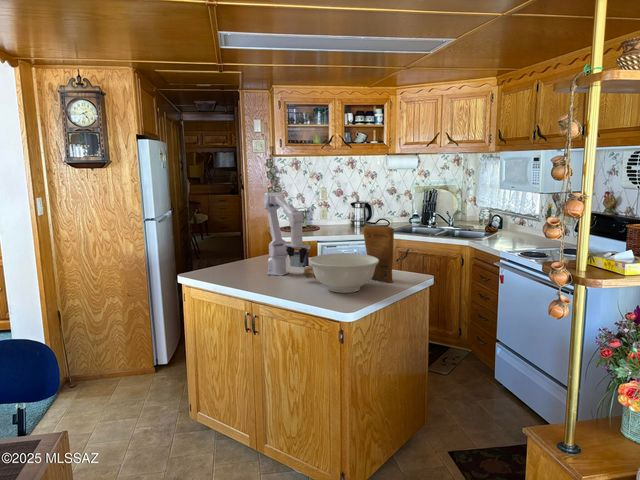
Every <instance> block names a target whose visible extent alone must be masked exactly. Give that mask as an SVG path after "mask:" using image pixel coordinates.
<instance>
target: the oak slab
mask: <svg viewBox="0 0 640 480" xmlns="http://www.w3.org/2000/svg"><path fill="white" fill-rule="evenodd" d="M303 273H311V274H314V271H313V266H312V265H309V266H308V267H304V268H303Z"/></svg>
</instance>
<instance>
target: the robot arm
mask: <svg viewBox="0 0 640 480" xmlns="http://www.w3.org/2000/svg"><path fill="white" fill-rule="evenodd" d="M262 201H263V205H264V209H265V210H266V213H267V219H268V223H269V228H270V229H269V230H270V233H271V234H270V235H271V240H272V241H270V243H268V255H269V256H270V257H269V258H268V260H267V273H266V274H267V275H273V276H274V275H275V276H284V275H287V274H289V273H290V271H287V258H288V257H289V258H290V256H293V255H294V251H296V250H295V249H299V250H298V251H299V252H300V263H303V262H304V258H305V255H306V253H307V251H308V252H309V250H311V248H312V247H311V244H303V223H305V220H306V219H305V214H304V212H303V211H301V210H300V211H298V209H296V207H295V206H293V204H291V203H288V202H287V201H286V199H285V195H284V193H283V192H281V191H279V192H265V193H264V194H263V197H262ZM278 209H282V212H283V213H284V215H285V216H286V217H287V218H288V221H289V227H290V243H288V242H287V241H286V240H285V239H284V238H283V237H282V232H281V227H280V223H279V218H278V217H279V216H278V212H277V210H278Z"/></svg>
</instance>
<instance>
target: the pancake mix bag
mask: <svg viewBox="0 0 640 480" xmlns="http://www.w3.org/2000/svg"><path fill="white" fill-rule="evenodd" d="M362 235H363V240H364V247H365V252H366V253H365V254H366V255H369V256H373V257H375V258H377V259H378V260H379V262H378V264H377V265H376V267H375V271H374V275H373V277H372V278H371V280H372V279H374V280H373V281H376V280H378V281H377V282H381V281H382V282H381V283H384V282H392V283H394V282H393V281H394V280H393V259H394V239H395V236H394V235H395V228H393V227H392V226H383V225H382V226H381V225H379V226H378V225H375V226H374V225H364V226H362Z"/></svg>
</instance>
